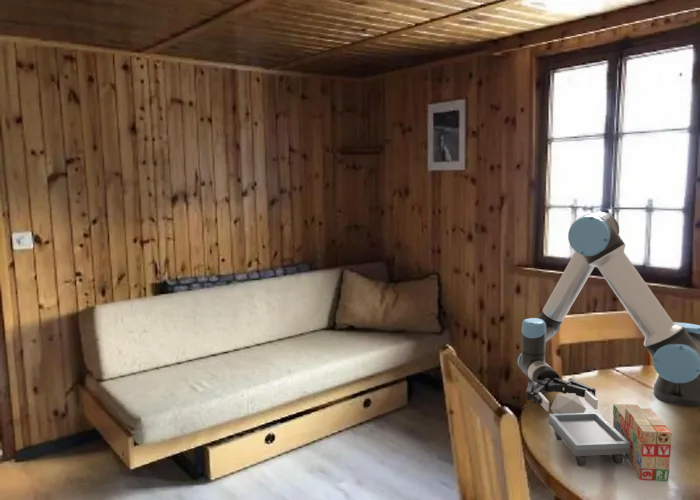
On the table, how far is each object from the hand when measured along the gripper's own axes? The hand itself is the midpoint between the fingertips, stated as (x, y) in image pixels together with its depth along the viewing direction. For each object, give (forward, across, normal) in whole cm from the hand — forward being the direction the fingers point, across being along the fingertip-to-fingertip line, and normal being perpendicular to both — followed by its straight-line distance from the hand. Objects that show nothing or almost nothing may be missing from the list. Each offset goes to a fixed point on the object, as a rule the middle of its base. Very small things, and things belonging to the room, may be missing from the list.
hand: (572, 405), depth 154 cm
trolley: (+14, +2, -6) cm, 15 cm away
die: (-3, 0, -6) cm, 7 cm away
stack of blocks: (+18, -9, -6) cm, 21 cm away
